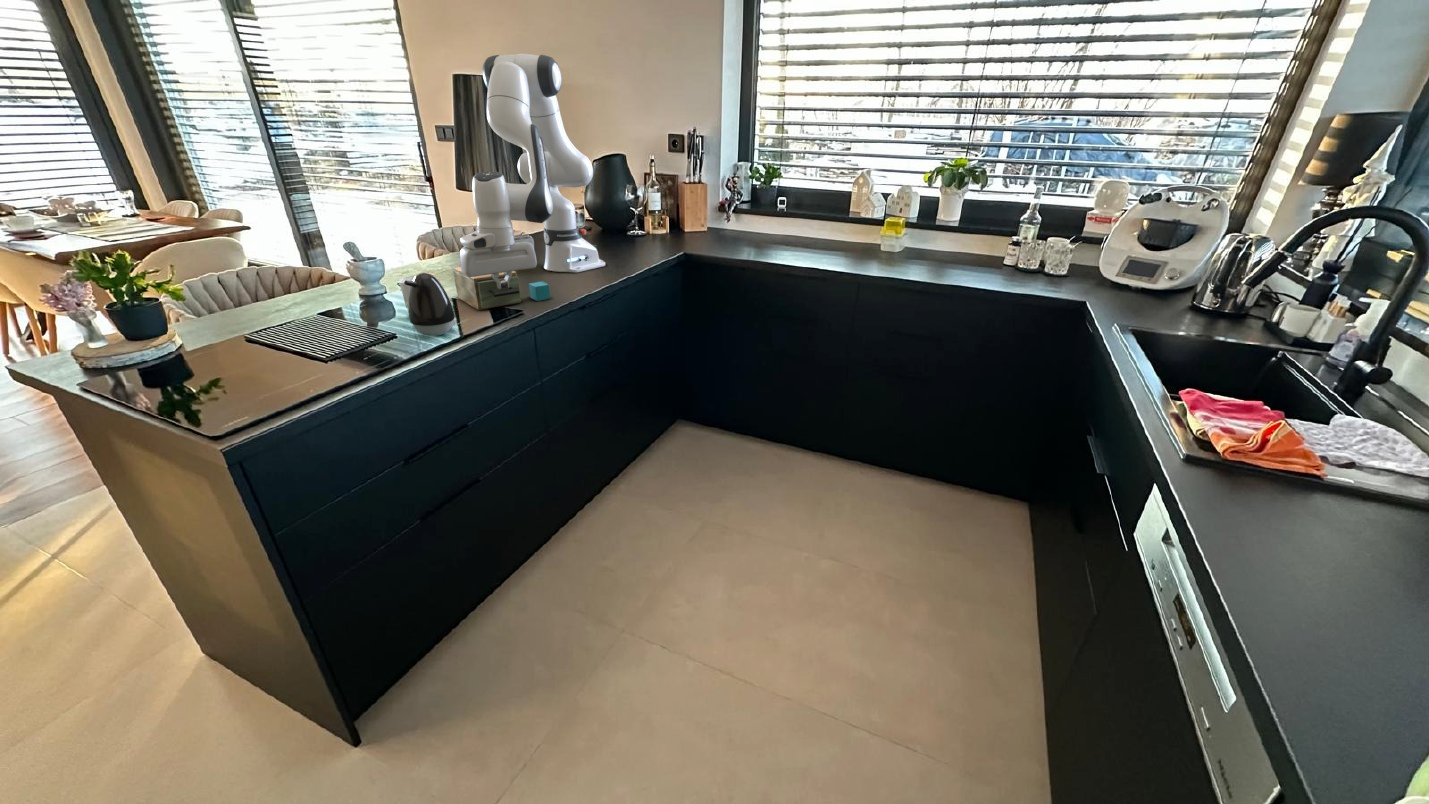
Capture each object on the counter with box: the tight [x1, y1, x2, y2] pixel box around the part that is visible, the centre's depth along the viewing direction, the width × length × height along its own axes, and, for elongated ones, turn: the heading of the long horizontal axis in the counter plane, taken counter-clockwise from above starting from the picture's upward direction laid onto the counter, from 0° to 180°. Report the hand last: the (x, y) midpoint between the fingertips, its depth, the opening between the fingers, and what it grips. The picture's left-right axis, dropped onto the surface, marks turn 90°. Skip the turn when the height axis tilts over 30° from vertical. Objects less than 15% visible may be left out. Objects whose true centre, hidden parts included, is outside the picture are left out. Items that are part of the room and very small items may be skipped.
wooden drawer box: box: [452, 265, 522, 311], centre depth 165 cm, size 16×13×9 cm
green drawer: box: [477, 275, 522, 308], centre depth 162 cm, size 19×11×7 cm, turn 43°
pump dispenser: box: [404, 272, 456, 337], centre depth 137 cm, size 10×10×15 cm
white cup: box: [398, 275, 416, 314], centre depth 149 cm, size 8×8×10 cm
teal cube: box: [528, 281, 551, 302], centre depth 169 cm, size 4×4×4 cm
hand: (503, 287), depth 155 cm, fingers closed
